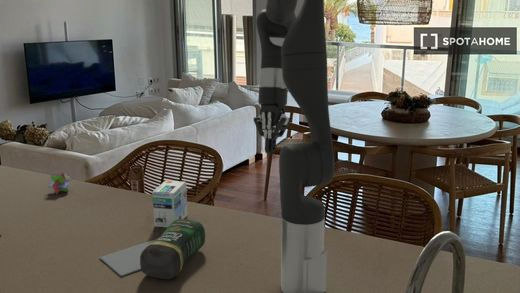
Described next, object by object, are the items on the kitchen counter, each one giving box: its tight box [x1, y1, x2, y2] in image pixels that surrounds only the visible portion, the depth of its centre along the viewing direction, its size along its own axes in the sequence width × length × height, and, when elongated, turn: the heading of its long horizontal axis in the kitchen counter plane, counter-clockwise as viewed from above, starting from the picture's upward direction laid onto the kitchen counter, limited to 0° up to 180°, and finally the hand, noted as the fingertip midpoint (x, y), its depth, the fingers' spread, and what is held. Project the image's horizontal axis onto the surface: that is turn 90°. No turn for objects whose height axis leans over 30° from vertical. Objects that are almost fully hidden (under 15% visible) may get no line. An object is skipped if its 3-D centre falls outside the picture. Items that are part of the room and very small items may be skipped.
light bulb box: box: [151, 179, 189, 228], centre depth 148 cm, size 11×7×11 cm, turn 168°
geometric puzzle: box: [47, 172, 72, 196], centre depth 172 cm, size 7×7×8 cm
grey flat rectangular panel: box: [99, 237, 160, 278], centre depth 128 cm, size 12×18×1 cm, turn 131°
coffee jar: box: [140, 218, 206, 280], centre depth 123 cm, size 10×8×19 cm
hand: (270, 153), depth 132 cm, fingers closed
